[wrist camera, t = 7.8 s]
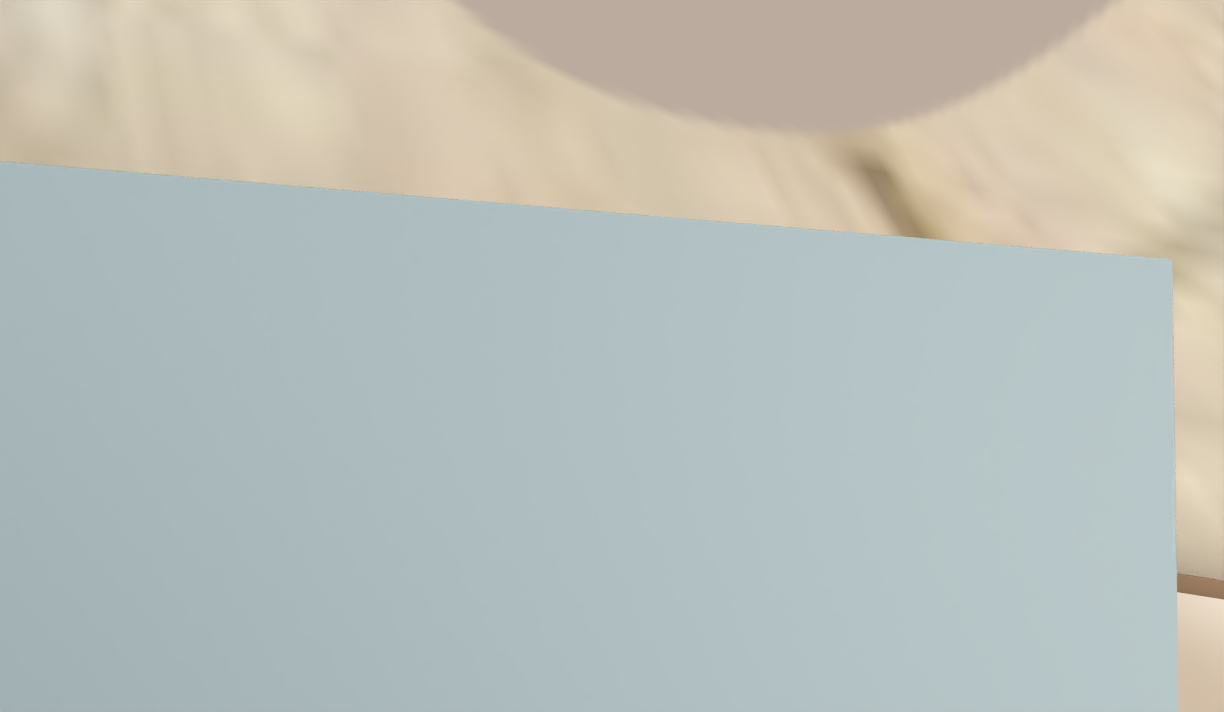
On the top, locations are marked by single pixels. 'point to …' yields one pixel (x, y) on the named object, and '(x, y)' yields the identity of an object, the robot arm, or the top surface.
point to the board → (1200, 644)
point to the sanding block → (568, 460)
